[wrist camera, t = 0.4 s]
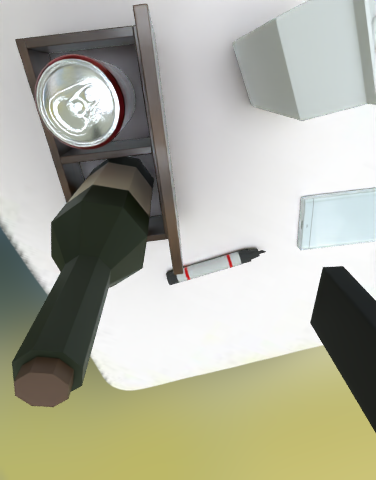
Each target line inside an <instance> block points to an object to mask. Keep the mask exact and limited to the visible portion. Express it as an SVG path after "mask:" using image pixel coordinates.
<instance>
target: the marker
mask: <svg viewBox="0 0 376 480" xmlns="http://www.w3.org/2000/svg"><path fill="white" fill-rule="evenodd" d="M264 252H266V251H263V250H261V251H258V249H253V250H248V249H246V250H242V251H239V252H235V253H231V254H228V255H225V256H221V257H218V258H215V259H211V260H208V261H205V262H201V263H198V264H195V265H191V266H188V267H185V268H183V274H178V275H174V273H173V271H172V272H169V273H167V280H168V283H169V284H170V285H172V284H175V283H180V282H183V281H187V280H190V279H193V278H197V277H200V276H204V275H207V274H210V273H214V272H217V271H220V270H224V269H227V268H231V267H234V266H237V265H241V264H243V263H247V262H250V261H251V259H254V258H256V257H258V256H259V254H261V253H264Z"/></svg>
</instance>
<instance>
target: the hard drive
mask: <svg viewBox="0 0 376 480" xmlns="http://www.w3.org/2000/svg"><path fill="white" fill-rule="evenodd" d="M373 241H376V188H371V189H362V190H354V191H346V192H338V193H330V194H322V195H314V196H305V197H302V198H301V207H300V219H299V231H298V243H297V244H298V248H299V249H300V250H306V249H314V248H322V247H331V246H340V245H348V244H356V243H365V242H373Z"/></svg>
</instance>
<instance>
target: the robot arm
mask: <svg viewBox="0 0 376 480" xmlns="http://www.w3.org/2000/svg"><path fill="white" fill-rule="evenodd" d="M310 323H311V325H312V327H313V328H314V330H315V332H316V333H317V335H318V337H319V338H320V340H321V342H322V343H323V345H324V347H325V348H326V350H327V351H328V353H329V355H330V357H331V358H332V360H333V362H334V363H335V365H336V367H337V369H338V370H339V372H340V373H341V375H342V377H343V379H344V380H345V382H346V384H347V385H348V387H349V389H350V390H351V392H352V394H353V395H354V397H355V399H356V400H357V402H358V404H359V405H360V407H361V409H362V411H363V412H364V414H365V416H366V417H367V419H368V421H369V422H370V424H371V426H372V427H373V429H374V431H375V432H376V301H375V300H374V298H373V297H372V296H371V295H370V294H369V293H368V292H367V291H366V290H365V289H364V288H363V287H362V286H361V285H360V284H359V283H358V282H357V281H356V280H355V278H354V277H353V276H352V275H351V274H350V273H349V272H348V271H347V270H346V269H345V268H344V267H343V266H339V267H323V269H322V274H321V278H320V283H319V287H318V291H317V296H316V300H315V305H314V309H313V313H312V318H311V322H310Z"/></svg>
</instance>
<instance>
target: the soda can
mask: <svg viewBox="0 0 376 480" xmlns="http://www.w3.org/2000/svg"><path fill="white" fill-rule="evenodd" d="M35 103H36V108H37V111H38V114H39V116H40V118H41V120H42V122H43V124H44V125H45V127H46V128H47V129H48V131H49V132H50V133H51V134H52V135H53V136H54V137H55V138H57V139H58V140H59V141H61V142H62V143H64V144H66V145H68V146H70V147H73V148H77V149H83V150H91V149H97V148H100V147H103V146H105V145H106V144H108V143H110V142H111V141H112V140H113V139H114V138H115V137H116V136H117V135H118V134H119V133H120V131H121V130H122V129H123V128H124V127H125V126H126V124H127V123H128V122H129V121H130V119H131V118H132V116H133V113H134V110H135V106H136V97H135V91H134V88H133V85H132V83H131V82H130V80H129V78H128V77H127V76H126V74H125V73H124V72H123V71H122V70H120V69H119V68H118V67H116V66H114V65H113V64H110V63H107V62H104V61H100V60H97V59H94V58H91V57H87V56H84V55H78V54H67V55H62V56H59V57H56V58H54V59H53V60H51V61H50V62H48V63H47V64H46V66H45V67H44V68H43V69H42V70H41V72H40V74H39V76H38V78H37V82H36V85H35Z"/></svg>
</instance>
